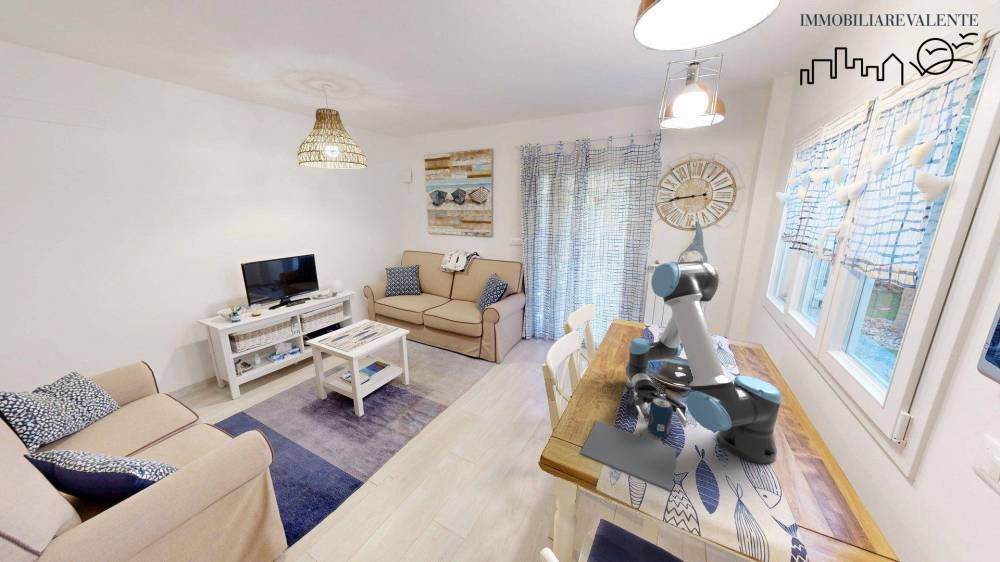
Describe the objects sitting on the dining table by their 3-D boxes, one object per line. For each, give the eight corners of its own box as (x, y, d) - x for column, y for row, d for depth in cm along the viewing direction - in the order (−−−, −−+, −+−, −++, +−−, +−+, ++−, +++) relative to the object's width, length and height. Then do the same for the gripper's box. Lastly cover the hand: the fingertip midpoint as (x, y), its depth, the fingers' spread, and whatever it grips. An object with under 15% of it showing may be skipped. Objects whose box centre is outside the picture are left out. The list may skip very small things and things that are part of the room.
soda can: (646, 423, 114) (650, 394, 111) (668, 428, 111) (672, 398, 109) (648, 436, 108) (651, 405, 105) (670, 441, 105) (674, 410, 102)
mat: (676, 450, 101) (676, 448, 101) (671, 491, 87) (672, 490, 87) (596, 421, 115) (596, 420, 115) (580, 453, 100) (580, 452, 100)
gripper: (675, 397, 125) (702, 434, 104) (611, 393, 128) (624, 428, 107) (678, 380, 123) (705, 415, 102) (612, 376, 126) (626, 409, 106)
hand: (663, 422), depth 105 cm, fingers open, 13 cm apart
